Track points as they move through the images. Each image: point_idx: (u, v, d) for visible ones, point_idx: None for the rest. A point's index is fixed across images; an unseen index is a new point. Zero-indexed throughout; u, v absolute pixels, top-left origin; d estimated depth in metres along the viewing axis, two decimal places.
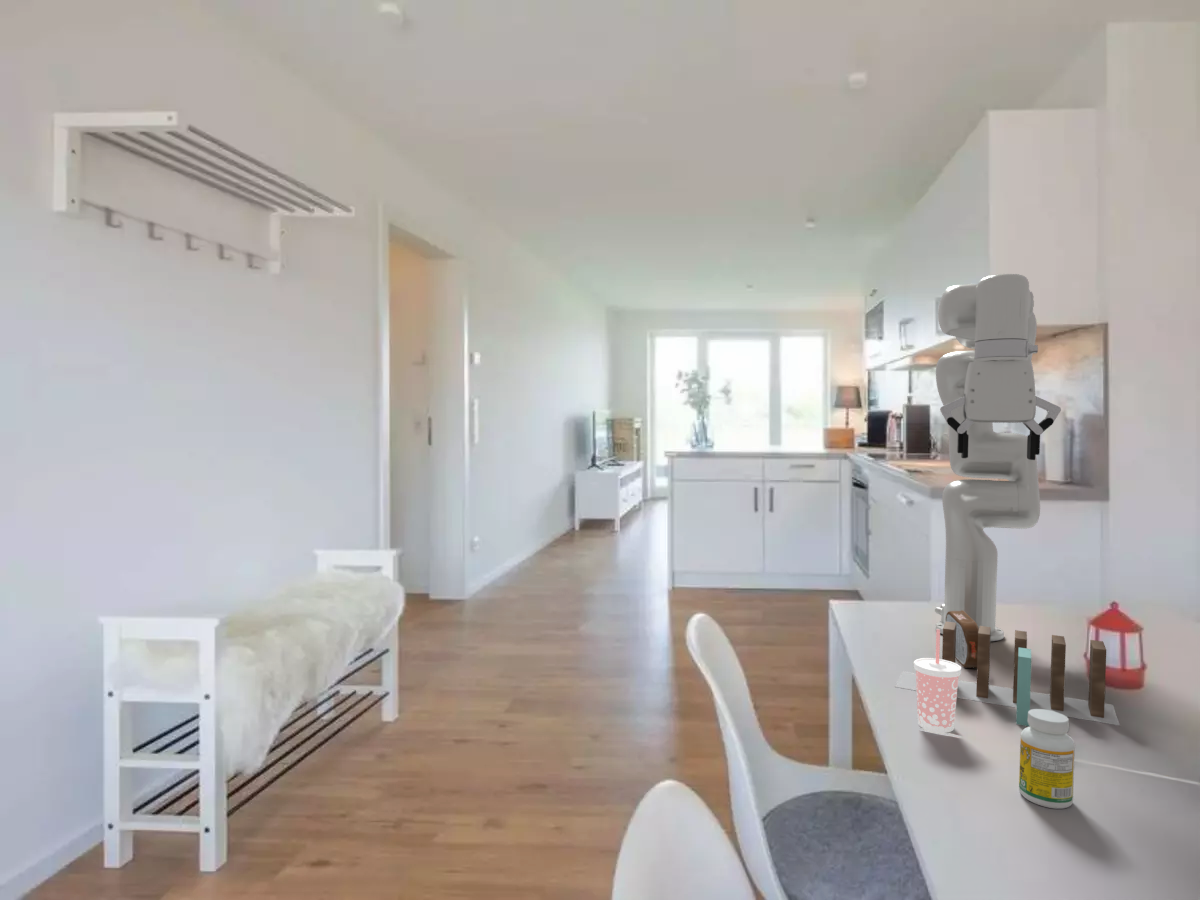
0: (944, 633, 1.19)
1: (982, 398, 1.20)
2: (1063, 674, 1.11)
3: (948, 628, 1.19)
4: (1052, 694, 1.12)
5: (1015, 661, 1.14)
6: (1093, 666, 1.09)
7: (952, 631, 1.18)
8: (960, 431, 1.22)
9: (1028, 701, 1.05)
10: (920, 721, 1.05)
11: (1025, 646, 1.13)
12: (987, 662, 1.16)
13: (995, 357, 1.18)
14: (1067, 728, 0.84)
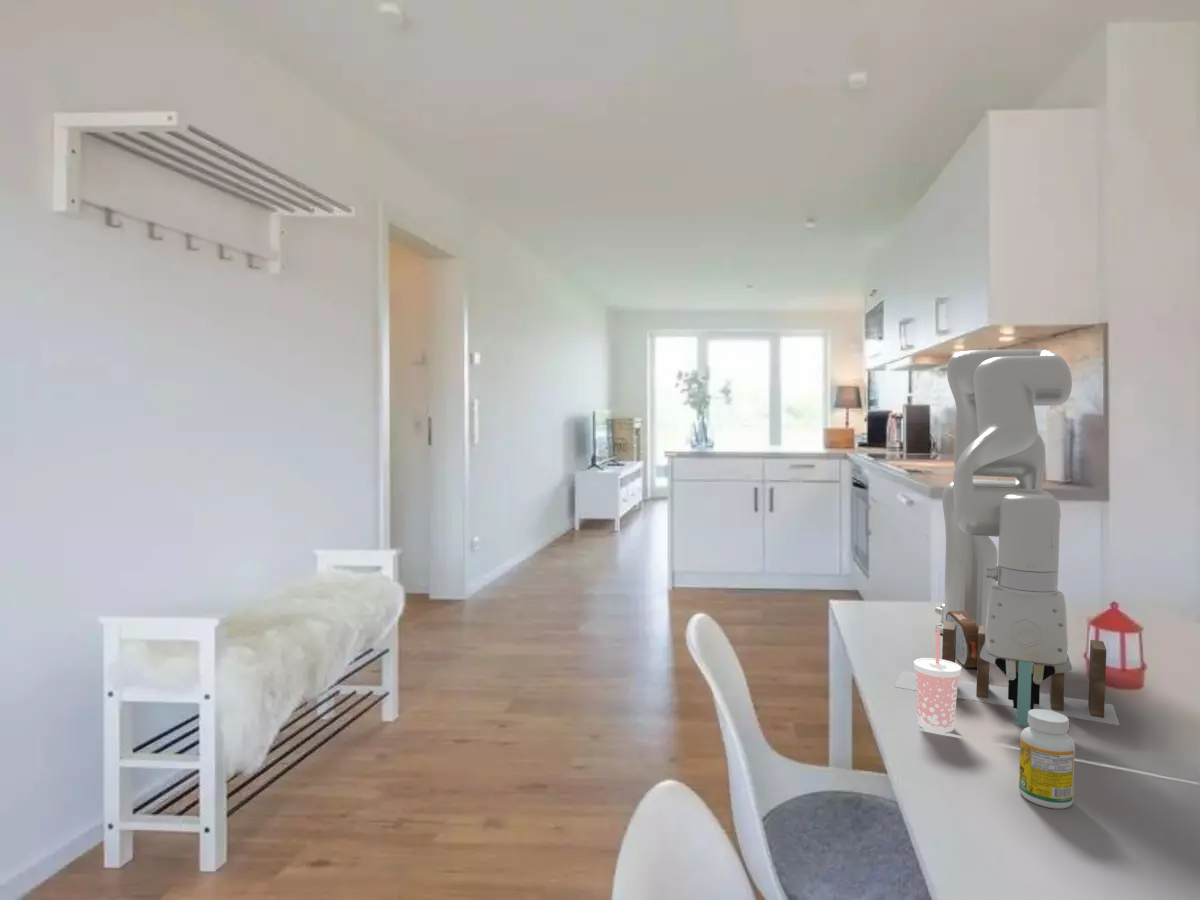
0: (944, 633, 1.19)
1: None
2: (1063, 674, 1.11)
3: (948, 628, 1.19)
4: (1052, 694, 1.12)
5: None
6: (1093, 666, 1.09)
7: (952, 631, 1.18)
8: None
9: (1028, 701, 1.05)
10: (920, 721, 1.05)
11: None
12: (987, 662, 1.16)
13: None
14: (1067, 728, 0.84)
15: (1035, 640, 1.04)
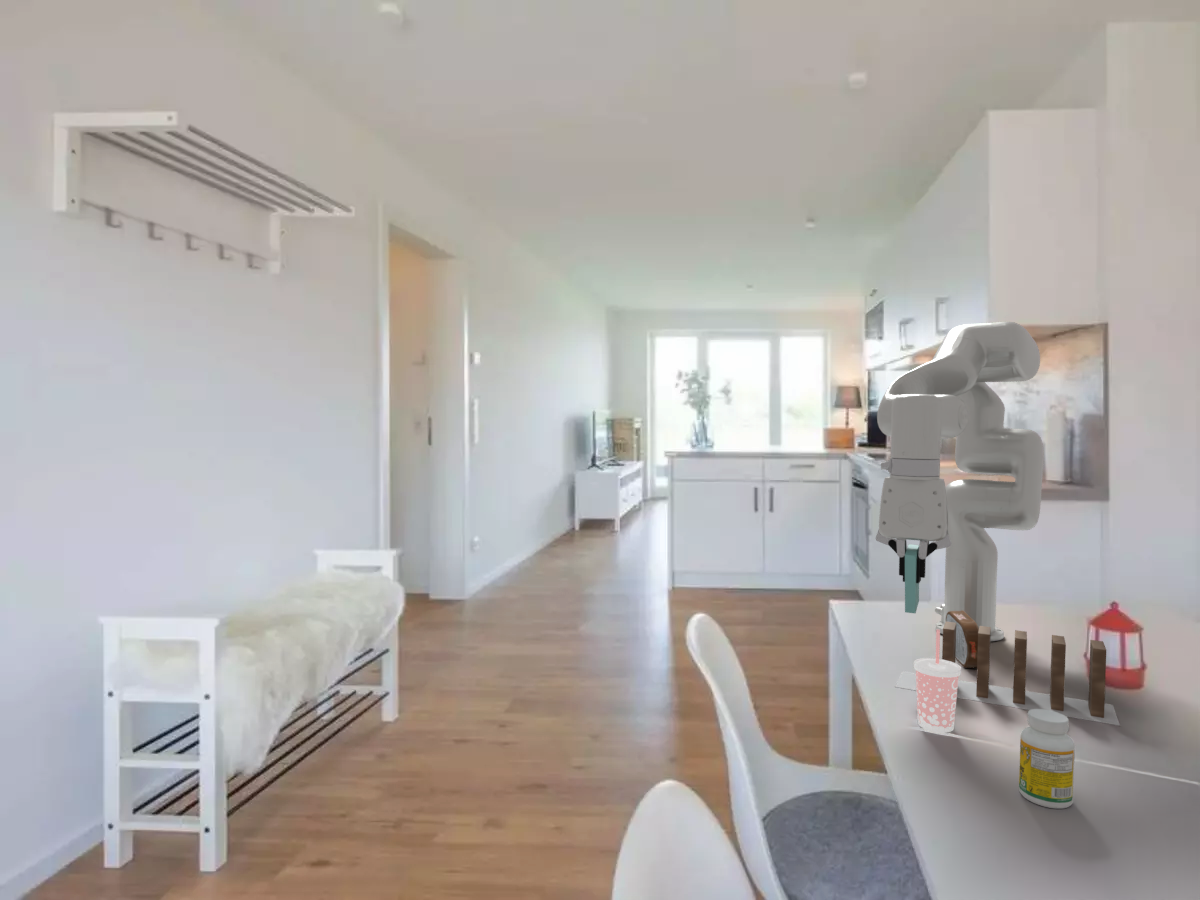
0: (944, 633, 1.19)
1: None
2: (1063, 674, 1.11)
3: (948, 628, 1.19)
4: (1052, 694, 1.12)
5: (1015, 661, 1.14)
6: (1093, 666, 1.09)
7: (952, 631, 1.18)
8: None
9: (914, 591, 1.21)
10: (920, 721, 1.05)
11: (1025, 646, 1.13)
12: (987, 662, 1.16)
13: None
14: (1067, 728, 0.84)
15: (919, 519, 1.20)
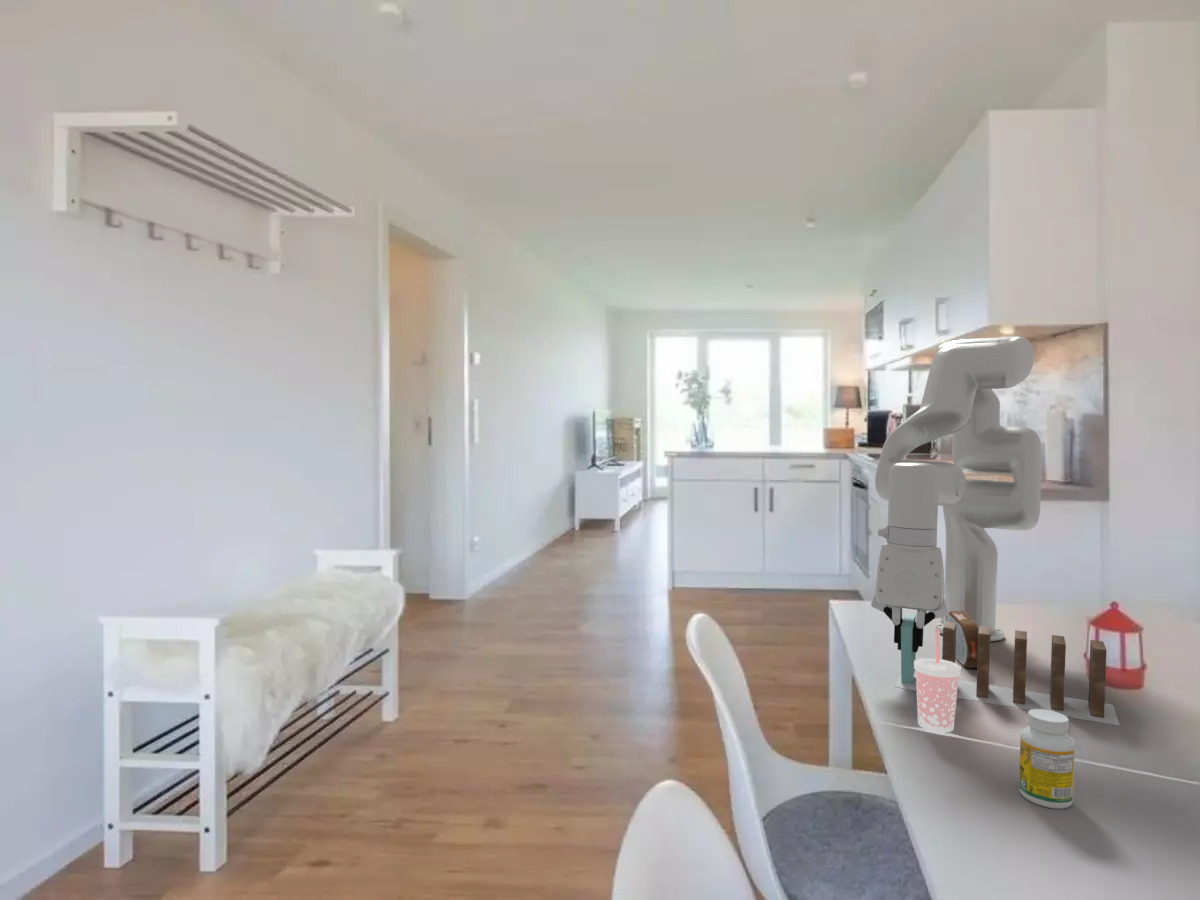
0: (944, 633, 1.19)
1: None
2: (1063, 674, 1.11)
3: (948, 628, 1.19)
4: (1052, 694, 1.12)
5: (1015, 661, 1.14)
6: (1093, 666, 1.09)
7: (952, 631, 1.18)
8: None
9: (910, 663, 1.21)
10: (919, 721, 1.05)
11: (1025, 646, 1.13)
12: (987, 662, 1.16)
13: None
14: (1067, 728, 0.84)
15: (916, 589, 1.20)
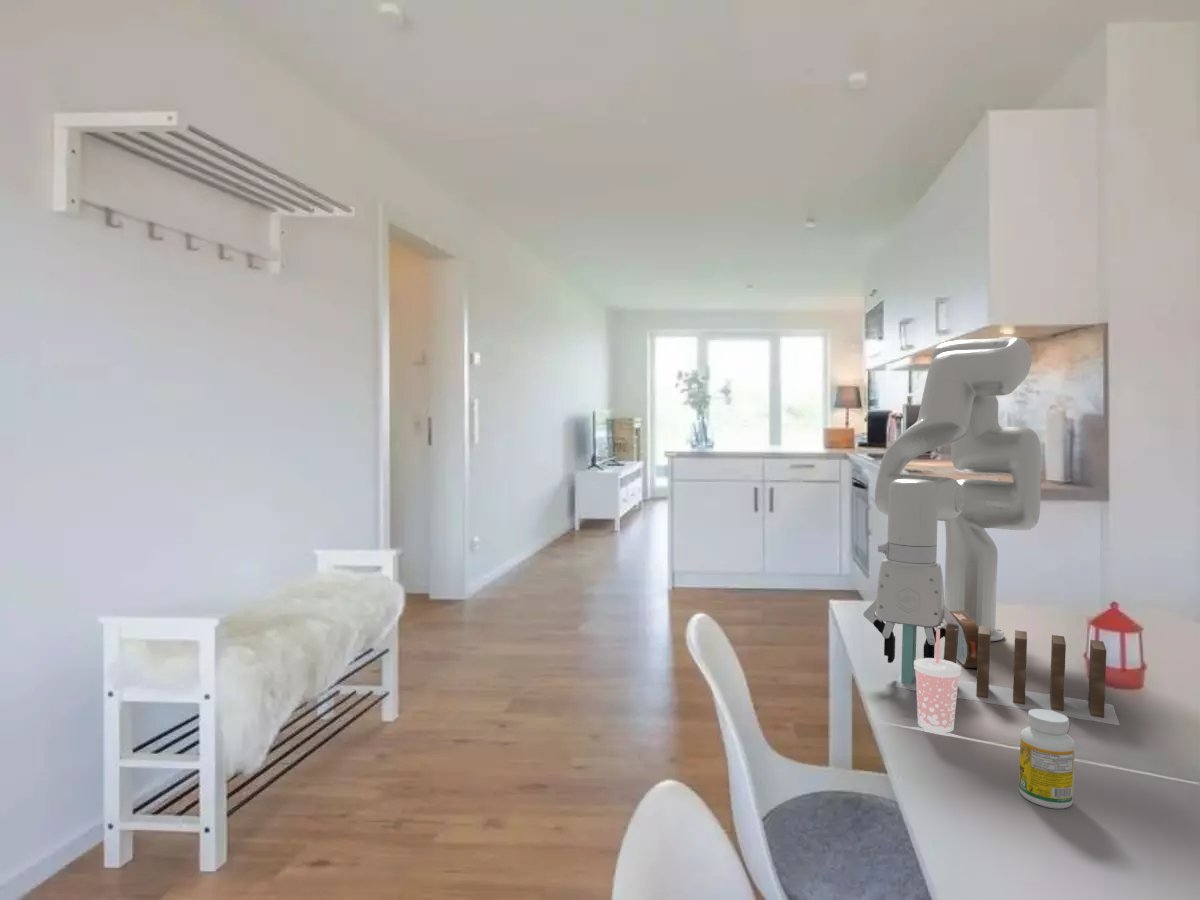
0: (947, 633, 1.19)
1: None
2: (1063, 674, 1.11)
3: (951, 628, 1.19)
4: (1052, 694, 1.12)
5: (1015, 661, 1.14)
6: (1093, 666, 1.09)
7: (955, 631, 1.18)
8: None
9: (911, 660, 1.22)
10: (920, 721, 1.05)
11: (1025, 646, 1.13)
12: (987, 662, 1.16)
13: None
14: (1067, 728, 0.84)
15: (916, 605, 1.20)
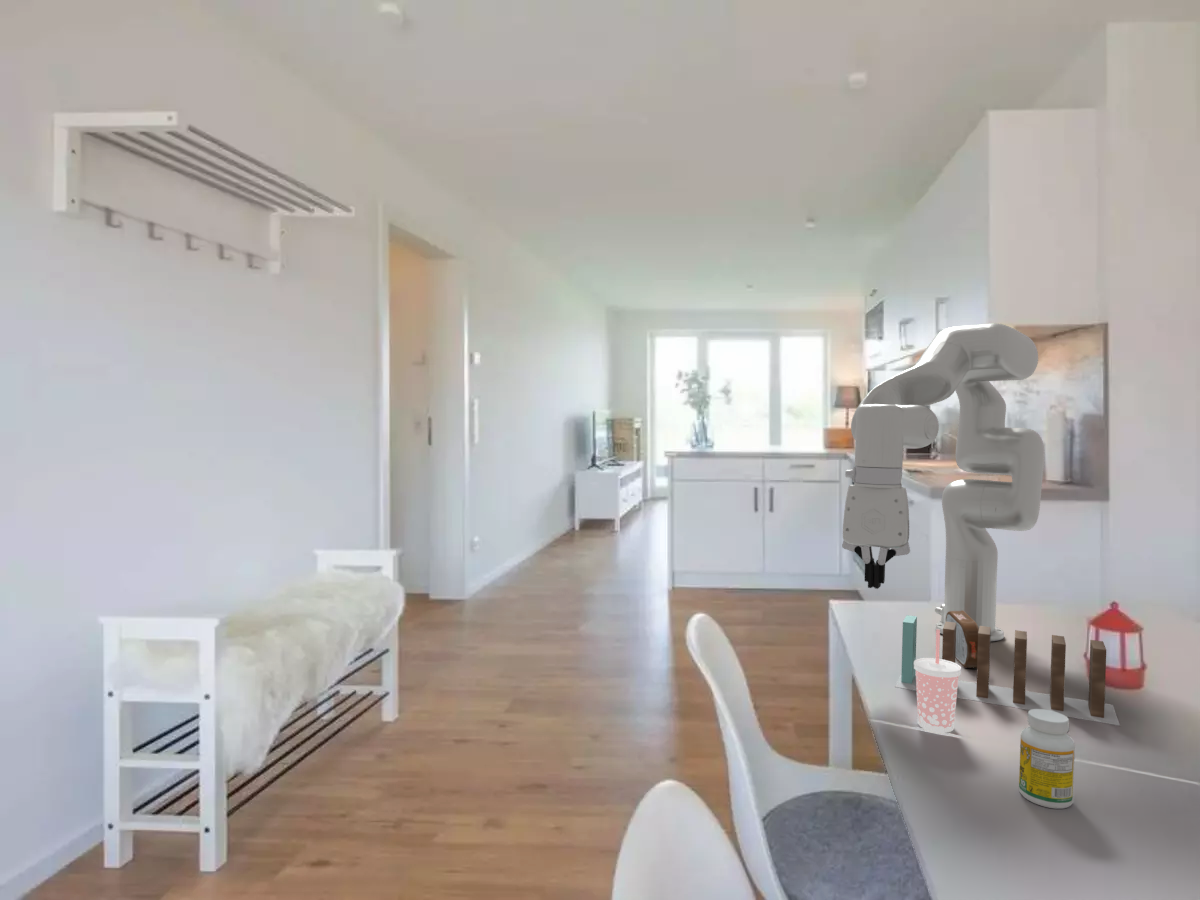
0: (944, 633, 1.19)
1: None
2: (1063, 674, 1.11)
3: (948, 628, 1.19)
4: (1052, 694, 1.12)
5: (1015, 661, 1.14)
6: (1093, 666, 1.09)
7: (952, 631, 1.18)
8: None
9: (911, 660, 1.22)
10: (919, 721, 1.05)
11: (1025, 646, 1.13)
12: (987, 662, 1.16)
13: None
14: (1067, 728, 0.84)
15: (881, 527, 1.22)
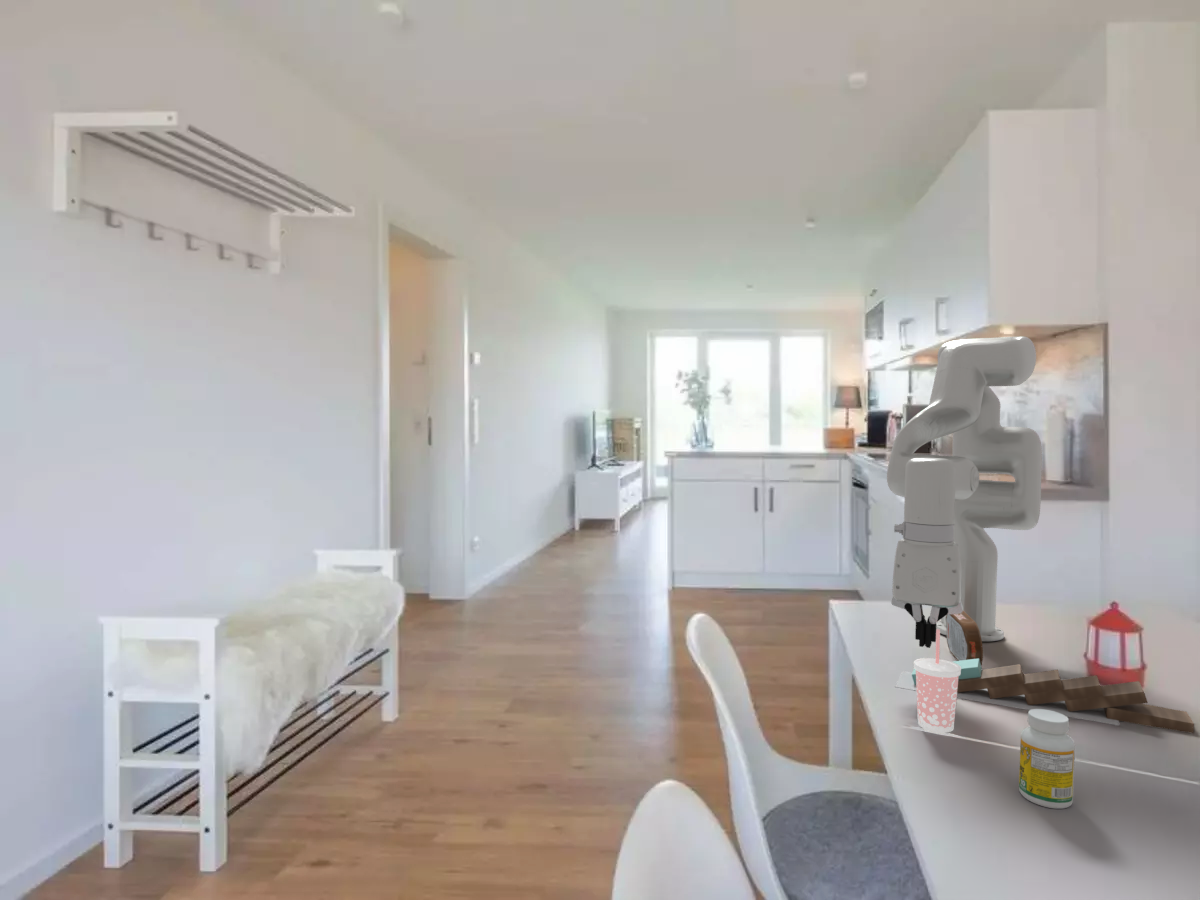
0: (1015, 675, 1.14)
1: None
2: (1110, 705, 1.08)
3: (1022, 677, 1.14)
4: (1082, 699, 1.10)
5: (1072, 689, 1.10)
6: (1169, 719, 1.05)
7: (1021, 682, 1.14)
8: None
9: None
10: (919, 721, 1.05)
11: (1094, 696, 1.09)
12: (1030, 692, 1.13)
13: None
14: (1067, 728, 0.84)
15: (933, 585, 1.19)
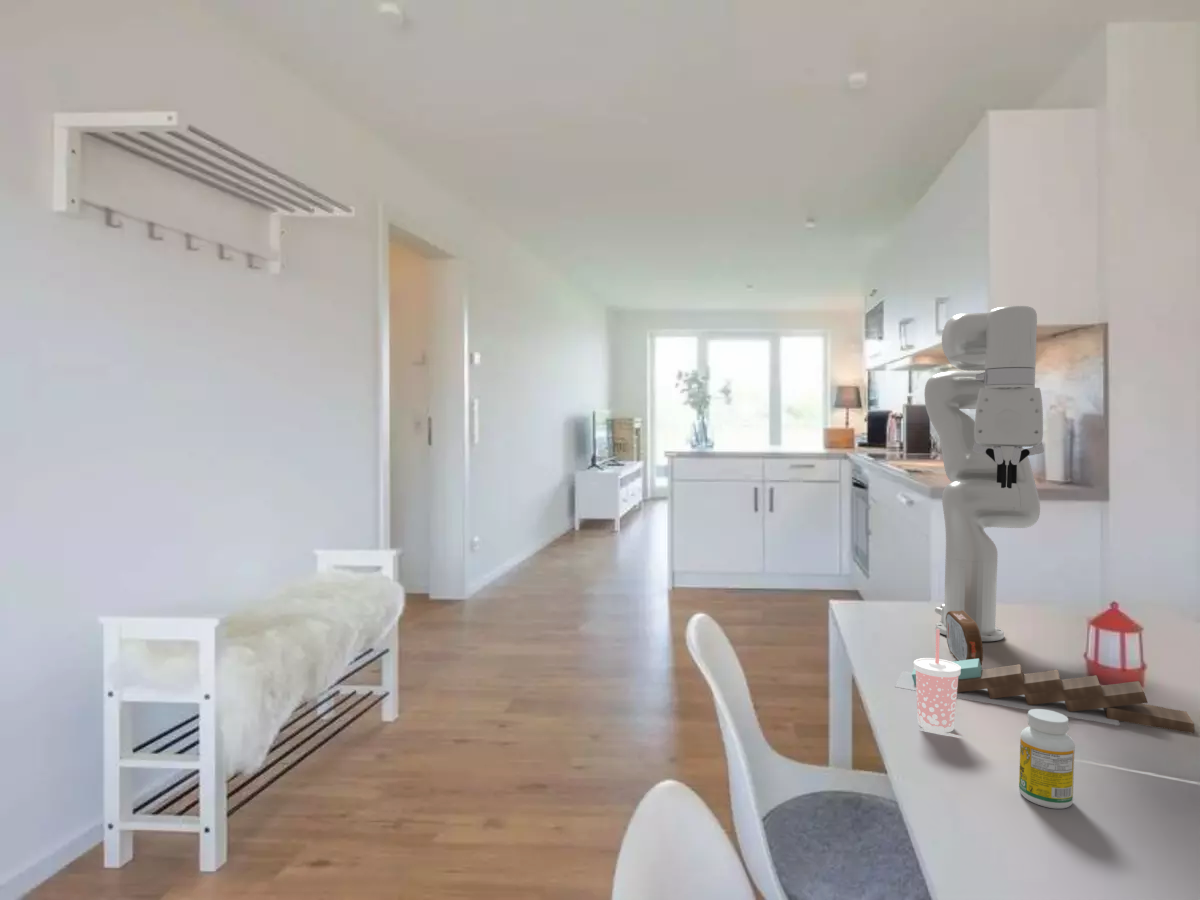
0: (1015, 675, 1.14)
1: None
2: (1110, 705, 1.08)
3: (1022, 677, 1.14)
4: (1082, 699, 1.10)
5: (1072, 689, 1.10)
6: (1169, 719, 1.05)
7: (1021, 682, 1.14)
8: None
9: None
10: (919, 721, 1.05)
11: (1094, 696, 1.09)
12: (1030, 692, 1.13)
13: None
14: (1067, 728, 0.84)
15: (1016, 426, 1.25)
